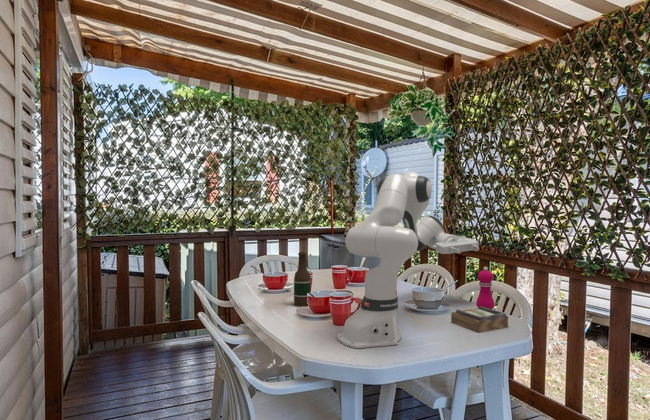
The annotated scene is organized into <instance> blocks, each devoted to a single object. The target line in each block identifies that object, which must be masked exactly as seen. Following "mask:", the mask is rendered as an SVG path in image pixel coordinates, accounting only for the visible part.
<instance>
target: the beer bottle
mask: <svg viewBox="0 0 650 420" xmlns="http://www.w3.org/2000/svg"><path fill="white" fill-rule="evenodd" d="M297 266H298V267H297V270H296V272H295V274H294V277H293V305H294V306H296V307H299V306H300V307H302V306H305V307H308V304H307V293H310V292H311V291H312V288H311V287H312V279H311V274H310V272H309V271H308V268H307V252H306V251H299V252H298V265H297ZM311 293H312V292H311ZM300 307H299V308H300Z"/></svg>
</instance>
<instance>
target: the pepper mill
mask: <svg viewBox="0 0 650 420" xmlns="http://www.w3.org/2000/svg"><path fill="white" fill-rule="evenodd" d="M477 279H478V280H479V282H478V286H480V288H479V289H480V290H479V291H480V292H479V294H478V297H477V298H476V301H475V303H476V304H475V305H476V307H477V308H479V306H482V307H486V308H489V309H492V310H494V308H495V301H494V298H493V295H492V292H491V290H492V287H493V283H492V281H493V280H494V274H493V273H492V272H491V271H490V270H489V268H488V267H487V266H484V267H483V270H480V272H478V275H477Z"/></svg>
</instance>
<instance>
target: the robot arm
mask: <svg viewBox="0 0 650 420" xmlns="http://www.w3.org/2000/svg"><path fill="white" fill-rule="evenodd" d="M430 180H431V179H429V178H428V177H426V176H423V175H420V174H419V173H418V172H416V171H408V172H405V173H404V174H400V173H392V174H389V175H388V176H386V177H384V178H381V179H380V180H379V181H378V183H377V185H376V186H377V187H376V193H377V194H376V195H377V197H376V201H375V203H374V207H373V209H372V210H371V212H370V214H369V215H368V216H366V218H365V219H363V221H361V222H360V223H359V224H357V225H354V226H353V227H350V228H349V230H348V231H347V232H346V235H345V239H344V240H345V241H344V242H345V247H346V249H347V251H348V252H349V253H350V254H353V255H355V256H360V257H366V258H380V263H379V265H377V266H375V267H373V268H371V269H369V270H368V271H367V272H366V274H365V276H364V296H363V298H362V299H361V298H359V297H356V298H355V299H354V302H355V304H357V305H360V307H359V308H358V309H357V310H356V311H355V312H354V313H352V314H351V315H350V316H349V317H348V318H347V319H346V320H345V321H344V322H345V323H344V325H343V332H341V333H340V332H339V333H338V334H337V335H336V339H337V341H338V342H340V343H341V342H342V343H341V344H343V345H345V346H347V347H349V346H350V347H349V348H352V349H361V348H362V349H363V348H375V347H385V346H387V347H388V346H393V345H395V346H396V345H399V341H401V339H402V335H401V332H400V327H399V319H398V308H399V299H398V296H397V292H398V291H397V287H398V278H399V277H398V276H399V272H400V270H401V268H402V266H403V265H404V263H406V261H408V260H409V259H411V258H412V257H414V255H415V253H416V252H420V251H423V250H425V248H426V247H427V246H428V247H429V248H431V249H434V250H435V251H436V252H437V253H439V254H442V255H446V254H447V255H451V254H461V253H462V252H469V251H472V252H473V251H474V252H478V251H480V248H479V247H480V246H479V241H478V240H476V239H472V238H469V237H466V235H460V234H459V235H458V234H457V235H455V234H450V233H446V232H445V228H444V225H443V223H442V222H441V220H440V219H438V217H435V216H433V215H425V216H424V217H423V218H422V219H421V220H420V221H419V218H420V217H421V216H422V215H423V213H424V211H425V210H426V209H427V207H428V205H429V204H430V198H431V195H432V192H433V186H432V183H431V181H430ZM418 221H419V222H418ZM401 222H402V224H403V227H402V226H397V225H399V224H400V223H401Z"/></svg>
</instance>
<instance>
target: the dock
mask: <svg viewBox="0 0 650 420" xmlns="http://www.w3.org/2000/svg"><path fill="white" fill-rule="evenodd" d="M450 315H451V316H450V317H451V318H450V319H451V322H450V323H451V324H454V325H458V326H459V327H463V328H466V329H469V330H470V331H473V332H476V333H482V332H487V331H488V332H489V331H493V330H499V328H500V329H504V327H505V328H509V316H508V315H507V313H506V312H502V311H499V310H496V309H489V308H486V307H482V306H479V308H478V307H477V308H471V309H465V310H461V309H456V310H455V311H451V314H450Z"/></svg>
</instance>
